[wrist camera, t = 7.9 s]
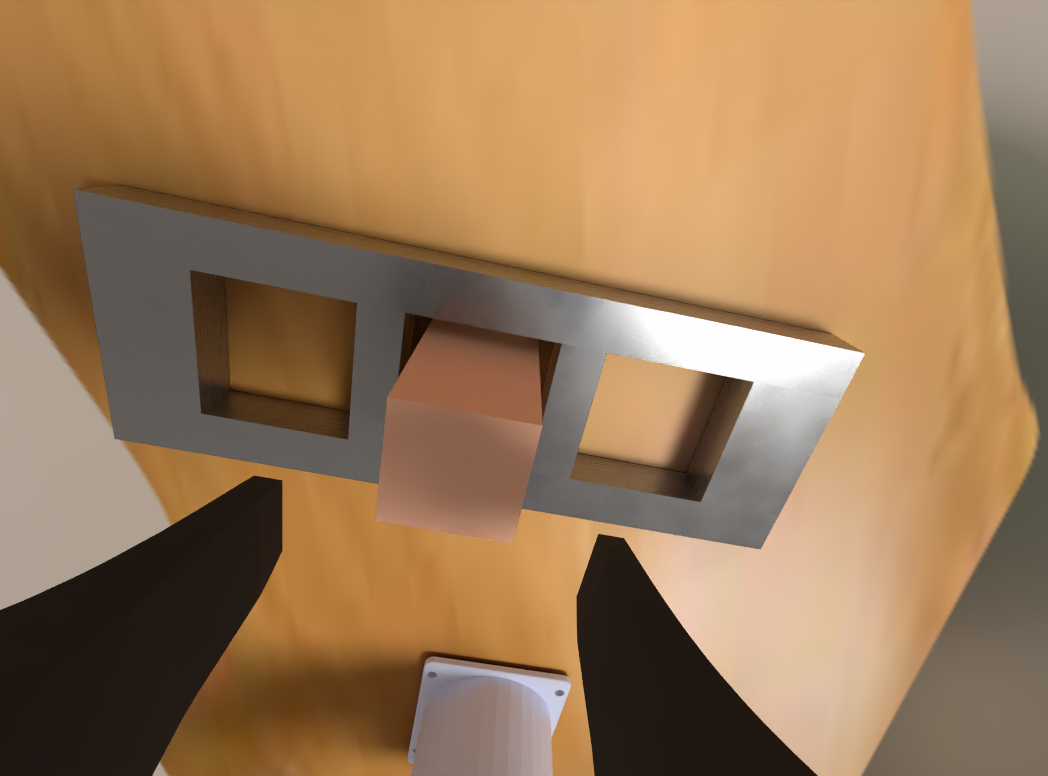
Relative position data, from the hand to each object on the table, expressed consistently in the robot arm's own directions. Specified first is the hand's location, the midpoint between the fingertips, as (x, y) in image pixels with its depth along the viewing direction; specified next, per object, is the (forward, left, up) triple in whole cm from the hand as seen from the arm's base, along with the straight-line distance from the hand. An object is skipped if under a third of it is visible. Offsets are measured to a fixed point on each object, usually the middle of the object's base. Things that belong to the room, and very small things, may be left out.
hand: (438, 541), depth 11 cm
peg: (0, 0, -9) cm, 9 cm away
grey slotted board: (0, 0, -9) cm, 9 cm away
